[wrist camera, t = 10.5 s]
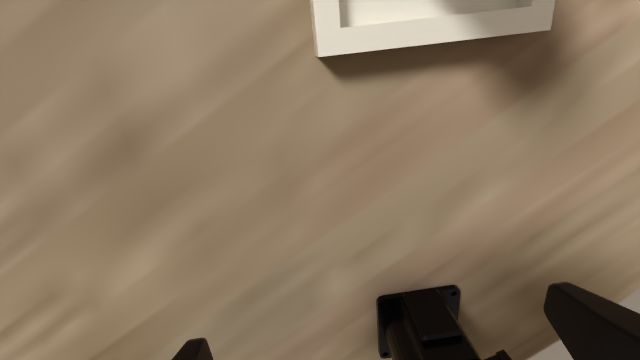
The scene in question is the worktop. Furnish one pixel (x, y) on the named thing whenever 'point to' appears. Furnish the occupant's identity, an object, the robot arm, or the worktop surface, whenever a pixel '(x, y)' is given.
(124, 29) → the worktop surface
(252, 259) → the worktop surface
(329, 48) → the dish
